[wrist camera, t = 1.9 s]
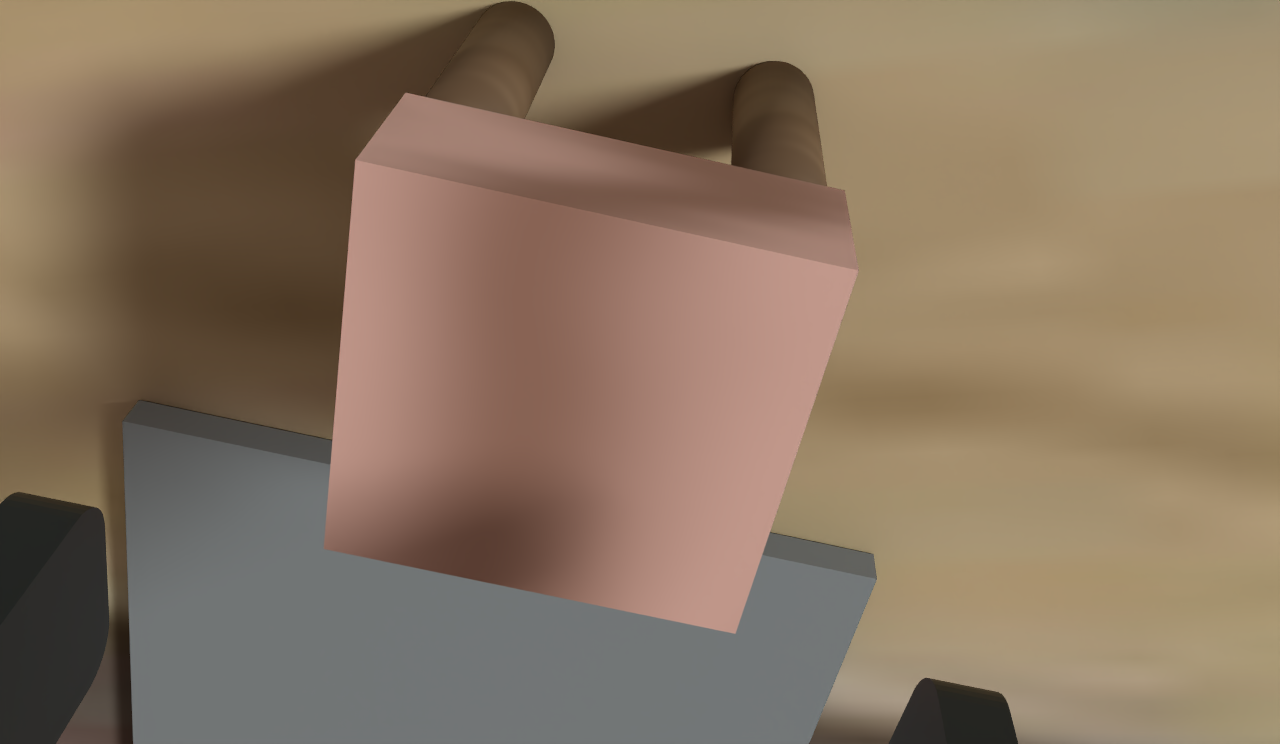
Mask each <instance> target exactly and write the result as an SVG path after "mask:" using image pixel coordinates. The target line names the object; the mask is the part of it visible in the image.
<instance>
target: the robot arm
mask: <svg viewBox="0 0 1280 744" xmlns="http://www.w3.org/2000/svg"><path fill="white" fill-rule="evenodd" d="M108 630H109V606H108V584H107V562H106V540H105V523H104V517H103V514H102V512H101V511H100V510H99V509H98V508H95V507H91V506H86V505H81V504H76V503H71V502H66V501H61V500H56V499H51V498H46V497H41V496H36V495H31V494H26V493H21V492H17V493H14V494H11V495H10V496H8V497H7V498H6V499H5V500H4V501H3V502H2V503H1V504H0V744H56V742H57V741H58V739H59V737H60V736H61V734H62V733H63V731H64V729H65V728H66V726H67V724H68V723H69V721H70V719H71V718H72V716H73V714H74V713H75V711H76V709H77V708H78V706H79V705H80V703H81V701H82V700H83V698H84V696H85V695H86V693H87V691H88V690H89V688H90V686H91V684H92V682H93V680H94V678H95V676H96V674H97V671H98V669H99V666H100V663H101V661H102V658H103V654H104V651H105V647H106V642H107V637H108ZM889 744H1018V741H1017V737H1016V733H1015V729H1014V725H1013V721H1012V717H1011V713H1010V710H1009V706H1008V703H1007V701H1006V699H1005V698H1004V696H1003V695H1002V694H1000V693H999V692H995V691H990V690H985V689H980V688H975V687H970V686H965V685H960V684H955V683H950V682H945V681H940V680H935V679H930V678H924V679H922V680H921V681H920V682H919V683H918V685H917V686H916V688H915V690H914V691H913V694H912V696H911V698H910V700H909V702H908V704H907V706H906V708H905V710H904V712H903V715H902V717H901V719H900V721H899V723H898V725H897V727H896V729H895V731H894V734H893V736H892V738H891V740H890V742H889Z"/></svg>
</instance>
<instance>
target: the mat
mask: <svg viewBox="0 0 1280 744" xmlns="http://www.w3.org/2000/svg"><path fill="white" fill-rule="evenodd" d="M122 423H123V453H124V483H125V513H126V543H127V573H128V603H129V633H130V663H131V692H132V722H133V744H809V742H810V740H811V737H812V735H813V733H814V730H815V728H816V725H817V723H818V720H819V718H820V716H821V713H822V711H823V708H824V706H825V703H826V701H827V699H828V696H829V694H830V691H831V689H832V687H833V684H834V682H835V679H836V677H837V674H838V672H839V670H840V667H841V665H842V662H843V660H844V657H845V655H846V653H847V650H848V648H849V645H850V643H851V640H852V638H853V636H854V633H855V631H856V628H857V626H858V624H859V621H860V619H861V616H862V614H863V611H864V609H865V607H866V604H867V602H868V599H869V597H870V594H871V592H872V590H873V587H874V585H875V582H876V580H877V576H876V569H875V562H874V555H873V554H869V553H865V552H860V551H855V550H850V549H846V548H841V547H836V546H831V545H827V544H822V543H817V542H812V541H808V540H803V539H798V538H793V537H788V536H784V535H779V534H774V533H769V536H768V539H767V542H766V545H765V548H764V551H763V554H762V557H761V560H760V563H759V566H758V569H757V572H756V575H755V578H754V581H753V584H752V586H751V589H750V592H749V595H748V598H747V601H746V604H745V607H744V610H743V613H742V616H741V619H740V622H739V625H738V628H737V631H736V634H734V633H729V632H724V631H719V630H714V629H709V628H704V627H700V626H695V625H690V624H685V623H680V622H675V621H671V620H666V619H661V618H656V617H651V616H646V615H641V614H637V613H632V612H627V611H622V610H617V609H612V608H607V607H603V606H598V605H593V604H588V603H583V602H578V601H574V600H569V599H564V598H559V597H554V596H549V595H544V594H540V593H535V592H530V591H525V590H520V589H515V588H510V587H506V586H501V585H496V584H491V583H486V582H481V581H477V580H472V579H467V578H462V577H457V576H452V575H447V574H443V573H438V572H433V571H428V570H423V569H418V568H413V567H409V566H404V565H399V564H394V563H389V562H384V561H380V560H375V559H370V558H365V557H360V556H355V555H350V554H346V553H341V552H336V551H331V550H326V549H324V538H325V525H326V513H327V501H328V489H329V477H330V464H331V452H332V440H327V439H322V438H317V437H312V436H308V435H303V434H298V433H293V432H289V431H284V430H279V429H274V428H270V427H265V426H260V425H255V424H251V423H246V422H241V421H236V420H232V419H227V418H222V417H217V416H212V415H208V414H203V413H198V412H193V411H189V410H184V409H179V408H174V407H170V406H165V405H160V404H155V403H151V402H146V401H141V400H139V401H138V402H137V404H136V405H135V406H134V407H133V409H132V410H131V411H130V412H129V414H128V415H127V416H126V417H125V419H124V420H123V421H122Z"/></svg>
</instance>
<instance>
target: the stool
mask: <svg viewBox="0 0 1280 744" xmlns="http://www.w3.org/2000/svg"><path fill="white" fill-rule="evenodd" d="M554 48H555V41H554V35H553V32H552V29H551V27H550V25H549V23H548V21H547V20H546V19H545V17H544V16H543V15H542V14H541V13H540V12H539V11H537V10H536V9H535V8H533V7H531V6H529V5H527V4H524V3H521V2H515V1H508V2H502V3H499V4H496V5H494V6H492V7H491V8H489V9H488V10H487V11H486V12H485V13H484V14H483V15H482V16H481V18H480V19H479V21H478V22H477V23H476V25H475V26H474V28H473V29H472V31H471V32H470V33H469V35H468V36H467V38H466V39H465V41H464V42H463V44H462V45H461V46H460V48H459V49H458V51H457V52H456V54H455V55H454V56H453V58H452V59H451V61H450V62H449V64H448V65H447V66H446V68H445V69H444V71H443V72H442V74H441V75H440V77H439V78H438V79H437V81H436V82H435V84H434V85H433V87H432V88H431V89H430V91H429V92H428V94H427V95H426V97H423V96H419V95H414V94H410V93H405V94H404V95H403V97H402V98H401V99H400V101H399V102H398V103H397V105H396V106H395V108H394V109H393V110H392V112H391V113H390V114H389V116H388V117H387V118H386V120H385V121H384V122H383V124H382V125H381V126H380V128H379V129H378V130H377V132H376V133H375V134H374V136H373V137H372V138H371V140H370V141H369V142H368V144H367V145H366V146H365V148H364V149H363V150H362V152H361V153H360V154H359V156H358V157H357V158H356V160H355V171H354V183H353V195H352V207H351V220H350V232H349V244H348V256H347V269H346V281H345V293H344V305H343V318H342V330H341V342H340V354H339V366H338V379H337V391H336V403H335V415H334V428H333V440H332V452H331V464H330V477H329V489H328V501H327V513H326V525H325V538H324V549H326V550H331V551H336V552H341V553H346V554H350V555H355V556H360V557H365V558H370V559H375V560H380V561H384V562H389V563H394V564H399V565H404V566H409V567H413V568H418V569H423V570H428V571H433V572H438V573H443V574H447V575H452V576H457V577H462V578H467V579H472V580H477V581H481V582H486V583H491V584H496V585H501V586H506V587H510V588H515V589H520V590H525V591H530V592H535V593H540V594H544V595H549V596H554V597H559V598H564V599H569V600H574V601H578V602H583V603H588V604H593V605H598V606H603V607H607V608H612V609H617V610H622V611H627V612H632V613H637V614H641V615H646V616H651V617H656V618H661V619H666V620H671V621H675V622H680V623H685V624H690V625H695V626H700V627H704V628H709V629H714V630H719V631H724V632H729V633H734V634H736V631H737V628H738V625H739V622H740V619H741V616H742V613H743V610H744V607H745V604H746V601H747V598H748V595H749V592H750V589H751V586H752V584H753V581H754V578H755V575H756V572H757V569H758V566H759V563H760V560H761V557H762V554H763V551H764V548H765V545H766V542H767V539H768V536H769V533H770V531H771V528H772V525H773V522H774V519H775V516H776V513H777V510H778V507H779V504H780V501H781V498H782V495H783V492H784V489H785V486H786V483H787V480H788V477H789V475H790V472H791V469H792V466H793V463H794V460H795V457H796V454H797V451H798V448H799V445H800V442H801V439H802V436H803V433H804V430H805V427H806V424H807V422H808V419H809V416H810V413H811V410H812V407H813V404H814V401H815V398H816V395H817V392H818V389H819V386H820V383H821V380H822V377H823V374H824V371H825V369H826V366H827V363H828V360H829V357H830V354H831V351H832V348H833V345H834V342H835V339H836V336H837V333H838V330H839V327H840V324H841V321H842V318H843V315H844V313H845V310H846V307H847V304H848V301H849V298H850V295H851V292H852V289H853V286H854V283H855V280H856V277H857V274H858V271H859V269H858V264H857V258H856V252H855V247H854V241H853V235H852V230H851V224H850V218H849V212H848V207H847V201H846V195H845V190H841V189H836V188H832V187H827V182H826V176H825V169H824V162H823V155H822V148H821V141H820V134H819V127H818V120H817V113H816V106H815V100H814V93H813V89H812V86H811V83H810V81H809V79H808V78H807V77H806V75H805V74H804V73H803V72H802V71H801V70H800V69H798V68H797V67H795V66H793V65H791V64H789V63H785V62H780V61H770V62H764V63H761V64H758V65H756V66H754V67H753V68H751V69H750V70H748V71H747V72H746V73H745V74H744V75H743V76H742V77H741V79H740V80H739V82H738V84H737V86H736V88H735V92H734V97H733V125H732V158H731V165H728V164H724V163H719V162H715V161H710V160H706V159H701V158H697V157H692V156H688V155H683V154H679V153H674V152H670V151H666V150H661V149H657V148H652V147H648V146H643V145H639V144H634V143H630V142H625V141H621V140H616V139H612V138H607V137H603V136H598V135H594V134H589V133H585V132H580V131H576V130H571V129H567V128H562V127H558V126H553V125H549V124H544V123H540V122H535V121H531V120H526V119H525V117H526V115H527V113H528V110H529V108H530V106H531V104H532V102H533V100H534V97H535V95H536V93H537V91H538V89H539V86H540V84H541V82H542V80H543V78H544V76H545V73H546V71H547V69H548V67H549V65H550V63H551V60H552V58H553V54H554Z"/></svg>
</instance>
